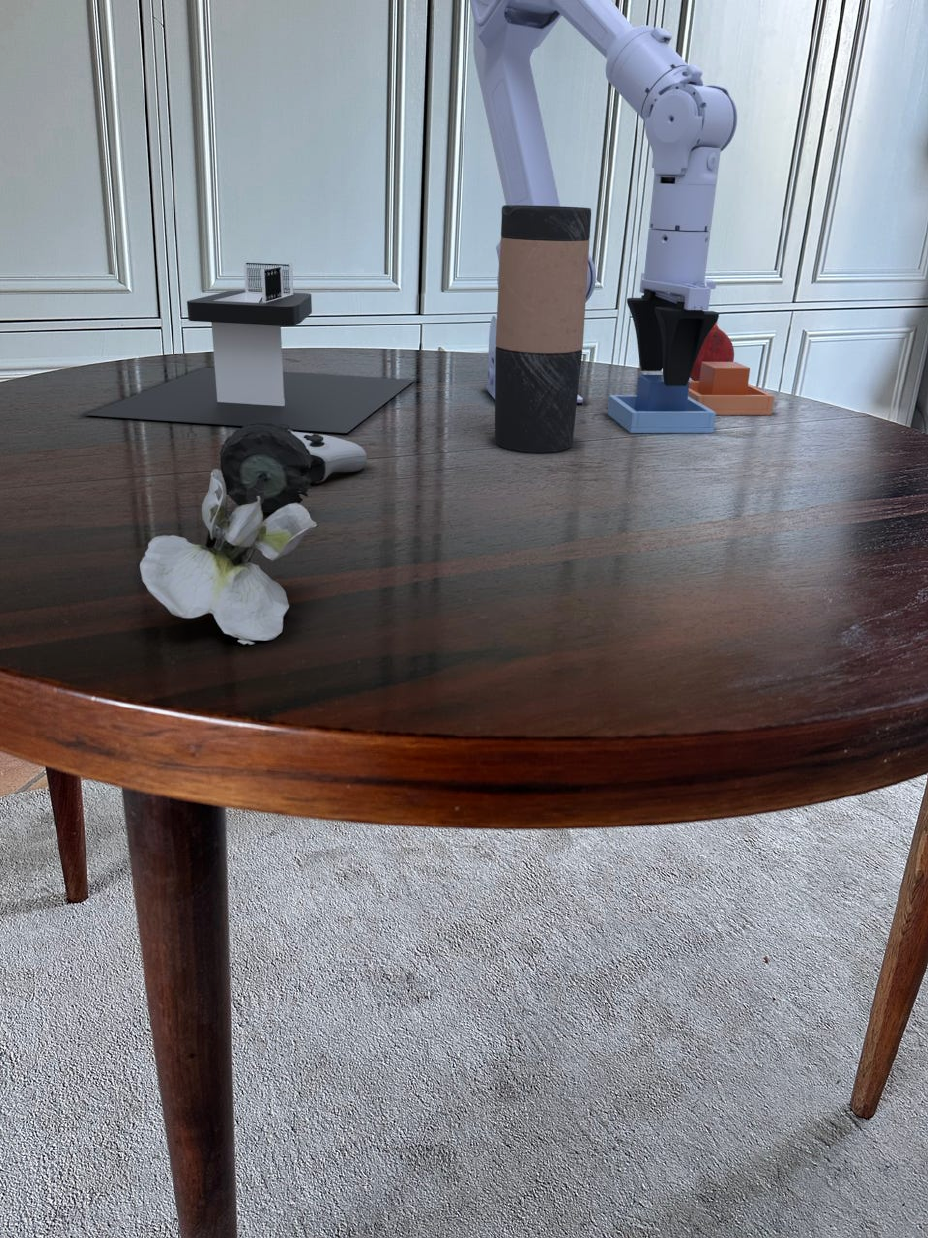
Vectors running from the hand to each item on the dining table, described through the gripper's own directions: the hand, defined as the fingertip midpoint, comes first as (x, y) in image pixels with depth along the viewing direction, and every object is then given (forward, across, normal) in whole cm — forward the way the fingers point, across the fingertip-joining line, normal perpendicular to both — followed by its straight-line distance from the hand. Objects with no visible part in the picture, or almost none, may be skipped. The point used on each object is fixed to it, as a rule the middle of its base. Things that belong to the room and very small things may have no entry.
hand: (662, 377), depth 98 cm
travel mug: (+5, -8, +14) cm, 17 cm away
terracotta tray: (+4, +8, -10) cm, 13 cm away
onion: (+5, +18, -12) cm, 22 cm away
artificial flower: (+5, -39, +38) cm, 54 cm away
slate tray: (+4, 0, 0) cm, 5 cm away
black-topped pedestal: (+5, +13, +39) cm, 42 cm away
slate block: (+4, 0, 0) cm, 4 cm away
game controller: (+5, -17, +35) cm, 40 cm away
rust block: (+4, +8, -10) cm, 13 cm away
